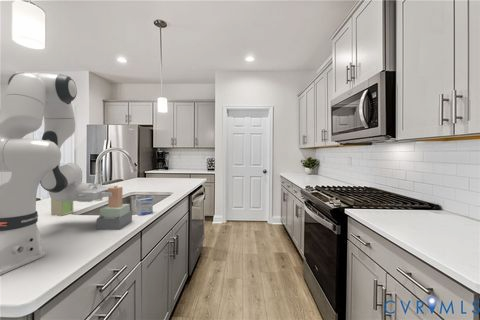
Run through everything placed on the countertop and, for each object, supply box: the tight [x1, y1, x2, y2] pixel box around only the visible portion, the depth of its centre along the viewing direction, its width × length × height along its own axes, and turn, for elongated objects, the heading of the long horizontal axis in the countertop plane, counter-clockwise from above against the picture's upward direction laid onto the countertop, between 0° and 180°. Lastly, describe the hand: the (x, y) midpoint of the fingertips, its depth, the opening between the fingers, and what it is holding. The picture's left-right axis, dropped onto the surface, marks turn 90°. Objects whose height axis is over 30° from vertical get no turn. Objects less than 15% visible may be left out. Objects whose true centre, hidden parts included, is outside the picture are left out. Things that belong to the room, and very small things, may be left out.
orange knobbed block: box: [107, 185, 123, 207], centre depth 117 cm, size 4×4×10 cm
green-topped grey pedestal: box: [96, 203, 133, 231], centre depth 117 cm, size 14×10×9 cm
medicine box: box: [135, 197, 154, 216], centre depth 140 cm, size 8×4×9 cm, turn 143°
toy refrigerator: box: [50, 197, 74, 217], centre depth 136 cm, size 8×7×21 cm
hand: (117, 192), depth 117 cm, fingers open, 8 cm apart
